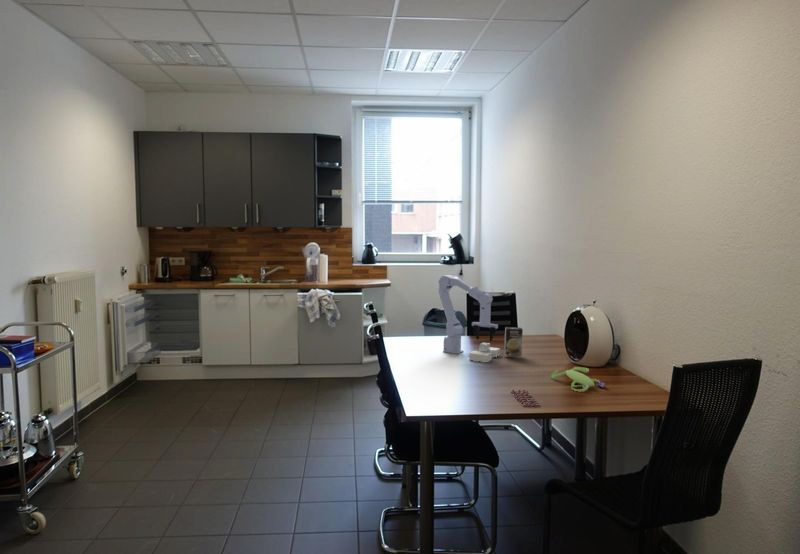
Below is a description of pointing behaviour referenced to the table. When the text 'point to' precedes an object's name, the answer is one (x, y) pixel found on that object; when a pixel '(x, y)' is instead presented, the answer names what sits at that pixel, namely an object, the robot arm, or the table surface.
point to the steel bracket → (485, 347)
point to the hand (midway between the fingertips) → (484, 340)
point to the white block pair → (484, 355)
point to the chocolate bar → (525, 398)
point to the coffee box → (513, 342)
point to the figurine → (579, 378)
